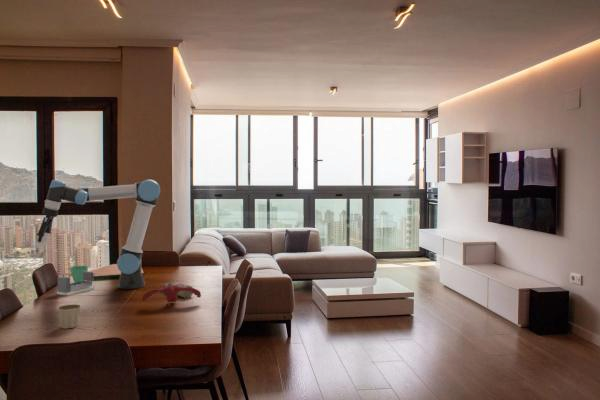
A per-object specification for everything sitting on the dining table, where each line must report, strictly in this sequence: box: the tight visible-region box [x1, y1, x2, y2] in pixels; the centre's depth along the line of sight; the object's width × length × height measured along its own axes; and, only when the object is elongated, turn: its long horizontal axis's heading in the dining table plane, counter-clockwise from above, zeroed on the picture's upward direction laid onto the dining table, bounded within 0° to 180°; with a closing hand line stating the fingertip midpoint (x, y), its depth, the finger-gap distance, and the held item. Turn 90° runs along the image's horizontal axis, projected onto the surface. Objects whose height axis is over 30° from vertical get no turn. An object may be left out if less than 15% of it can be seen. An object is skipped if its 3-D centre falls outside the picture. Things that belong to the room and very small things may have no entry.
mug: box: [69, 265, 89, 283], centre depth 310 cm, size 15×10×10 cm
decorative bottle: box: [162, 281, 194, 299], centre depth 280 cm, size 26×8×7 cm, turn 43°
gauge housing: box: [56, 276, 95, 297], centre depth 286 cm, size 18×8×10 cm, turn 153°
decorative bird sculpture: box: [142, 286, 202, 307], centre depth 254 cm, size 28×9×15 cm
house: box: [88, 263, 145, 279], centre depth 333 cm, size 23×33×8 cm
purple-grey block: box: [79, 271, 94, 284], centre depth 292 cm, size 5×8×8 cm, turn 63°
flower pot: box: [56, 304, 82, 329], centre depth 219 cm, size 9×9×9 cm
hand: (40, 246), depth 275 cm, fingers open, 13 cm apart
